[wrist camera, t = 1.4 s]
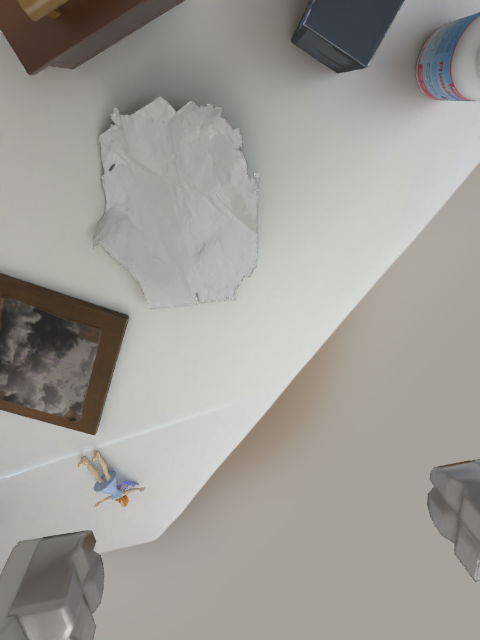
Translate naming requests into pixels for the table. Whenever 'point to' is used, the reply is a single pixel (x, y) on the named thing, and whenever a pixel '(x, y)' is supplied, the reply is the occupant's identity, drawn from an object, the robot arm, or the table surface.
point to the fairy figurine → (108, 481)
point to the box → (345, 31)
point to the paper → (178, 203)
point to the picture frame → (56, 355)
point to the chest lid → (57, 26)
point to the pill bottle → (452, 61)
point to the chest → (116, 33)
